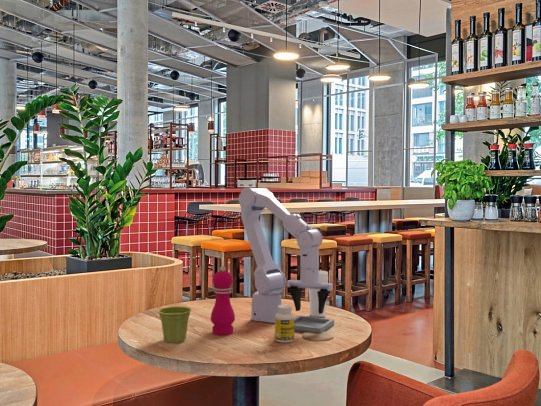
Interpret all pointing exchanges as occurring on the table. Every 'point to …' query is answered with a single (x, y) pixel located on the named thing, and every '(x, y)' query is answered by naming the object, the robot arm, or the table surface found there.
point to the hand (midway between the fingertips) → (309, 311)
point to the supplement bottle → (284, 324)
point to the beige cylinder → (314, 296)
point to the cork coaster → (318, 336)
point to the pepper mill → (222, 304)
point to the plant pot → (174, 323)
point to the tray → (312, 324)
